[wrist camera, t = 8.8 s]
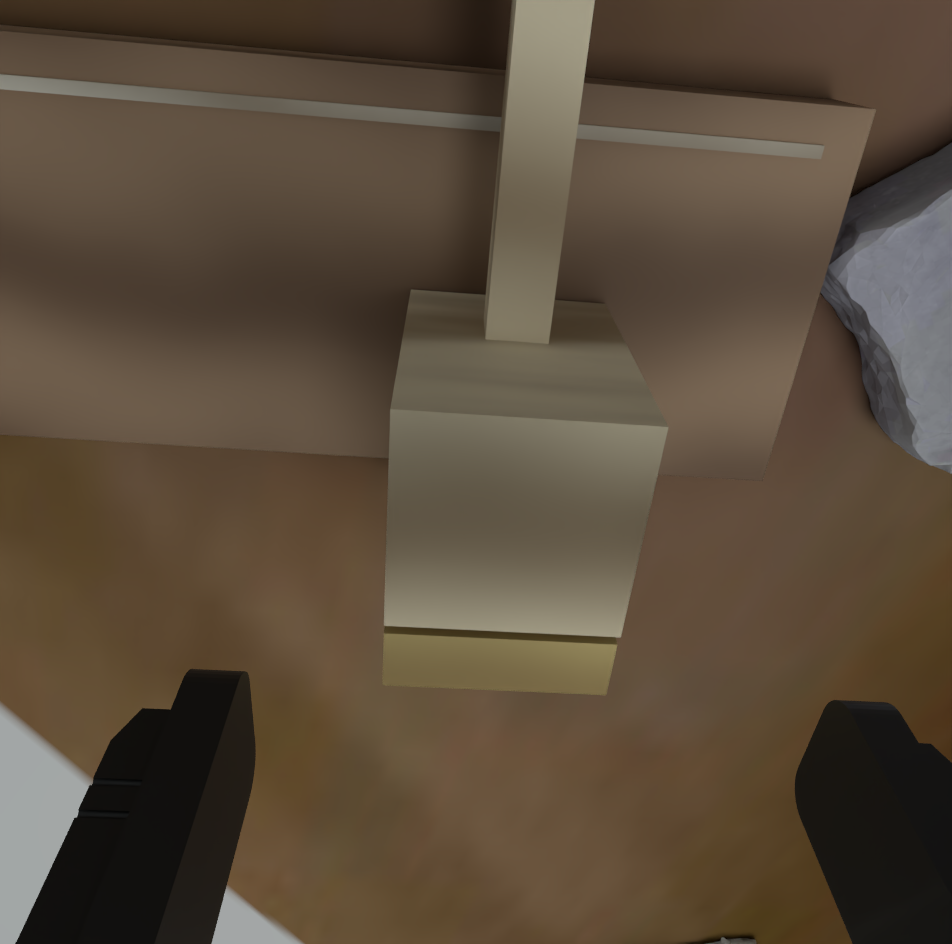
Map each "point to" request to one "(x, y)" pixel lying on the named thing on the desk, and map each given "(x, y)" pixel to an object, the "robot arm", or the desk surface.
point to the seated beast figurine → (735, 941)
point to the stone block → (902, 302)
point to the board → (380, 240)
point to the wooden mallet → (518, 428)
